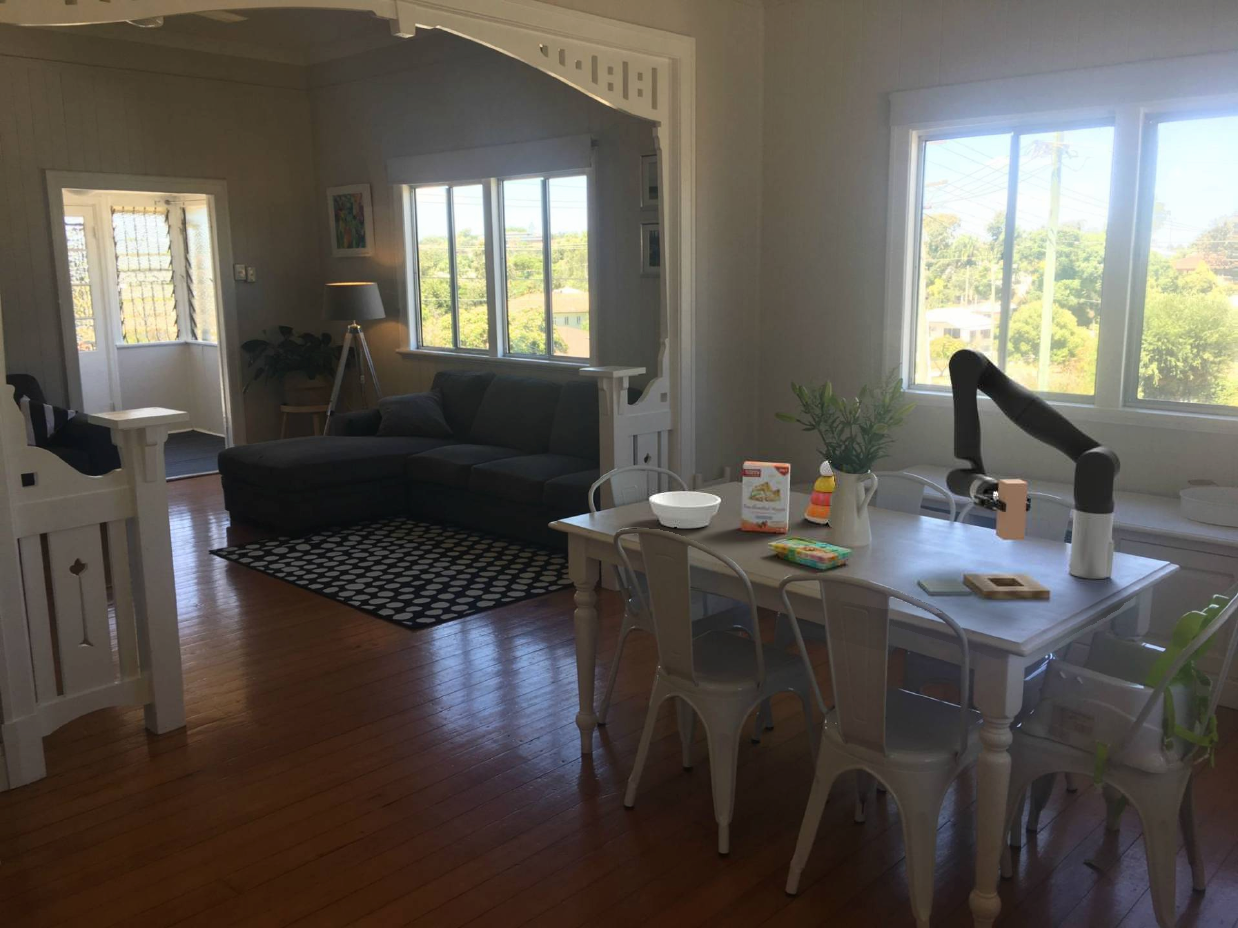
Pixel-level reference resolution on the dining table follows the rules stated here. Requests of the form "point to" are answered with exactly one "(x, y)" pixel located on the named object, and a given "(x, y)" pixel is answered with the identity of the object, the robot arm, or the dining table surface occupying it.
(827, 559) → the puzzle game
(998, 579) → the walnut puzzle board
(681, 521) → the bowl
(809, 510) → the stacking toy
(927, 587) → the slate pad
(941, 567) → the dining table surface
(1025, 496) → the terracotta block
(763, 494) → the cracker box
